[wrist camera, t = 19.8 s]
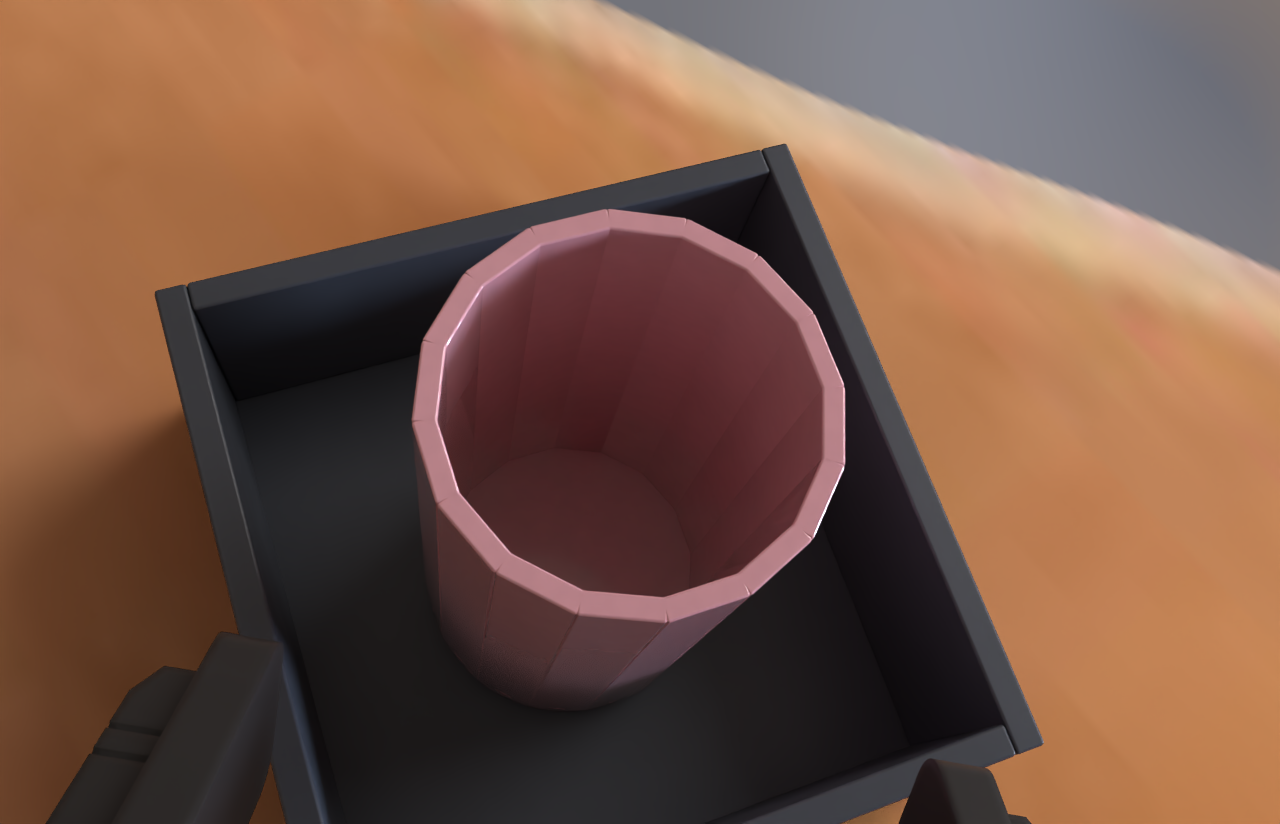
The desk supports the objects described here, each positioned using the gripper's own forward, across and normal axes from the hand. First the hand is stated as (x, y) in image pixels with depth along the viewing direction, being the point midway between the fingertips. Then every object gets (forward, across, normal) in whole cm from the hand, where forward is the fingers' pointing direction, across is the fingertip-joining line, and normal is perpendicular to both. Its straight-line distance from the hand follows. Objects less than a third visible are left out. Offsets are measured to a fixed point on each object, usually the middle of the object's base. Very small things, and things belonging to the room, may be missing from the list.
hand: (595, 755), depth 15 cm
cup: (+12, 0, +5) cm, 12 cm away
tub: (+12, 0, +5) cm, 13 cm away
